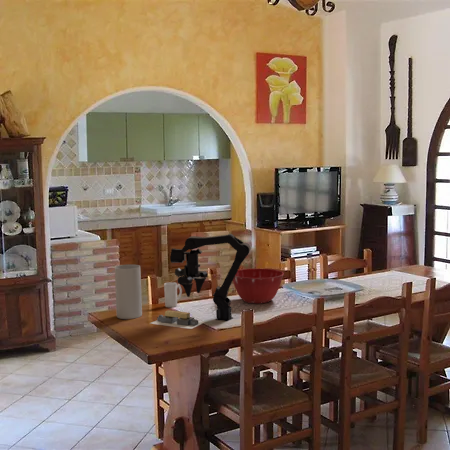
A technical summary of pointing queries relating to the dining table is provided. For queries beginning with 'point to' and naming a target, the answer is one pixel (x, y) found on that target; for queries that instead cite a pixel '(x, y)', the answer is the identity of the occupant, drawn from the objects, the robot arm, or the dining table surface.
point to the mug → (171, 294)
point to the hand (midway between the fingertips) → (193, 294)
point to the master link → (177, 314)
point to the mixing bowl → (257, 284)
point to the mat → (176, 324)
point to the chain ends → (178, 320)
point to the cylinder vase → (128, 291)
